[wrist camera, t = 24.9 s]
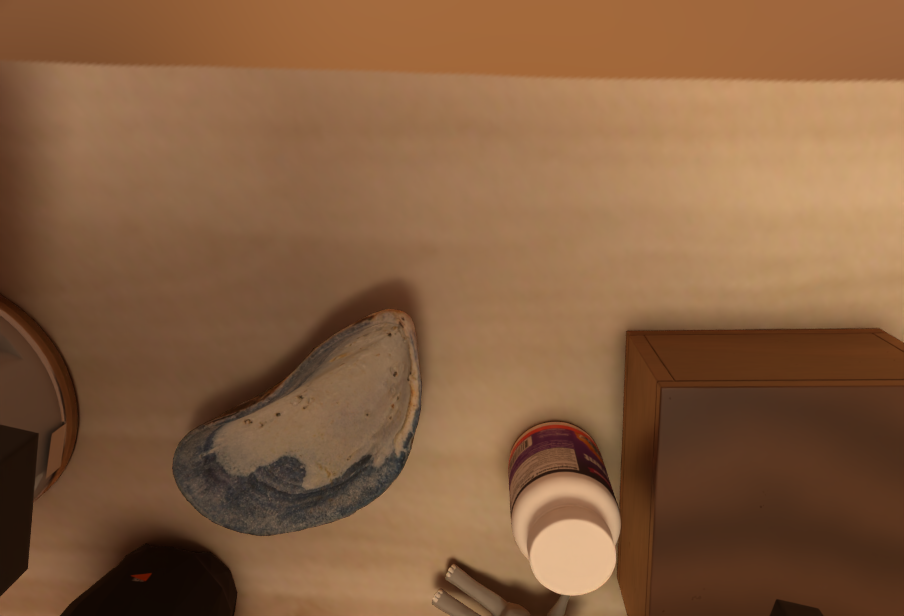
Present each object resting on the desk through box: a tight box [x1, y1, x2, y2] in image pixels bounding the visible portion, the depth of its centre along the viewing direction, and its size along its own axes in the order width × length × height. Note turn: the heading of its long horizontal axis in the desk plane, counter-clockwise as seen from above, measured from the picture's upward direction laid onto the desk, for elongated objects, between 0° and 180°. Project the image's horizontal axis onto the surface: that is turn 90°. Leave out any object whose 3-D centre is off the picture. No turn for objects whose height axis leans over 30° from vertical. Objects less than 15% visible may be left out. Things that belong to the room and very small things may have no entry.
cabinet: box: [617, 329, 904, 616], centre depth 39 cm, size 16×14×9 cm
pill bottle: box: [508, 422, 621, 596], centre depth 39 cm, size 5×5×10 cm
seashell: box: [172, 309, 422, 536], centre depth 41 cm, size 15×12×5 cm
